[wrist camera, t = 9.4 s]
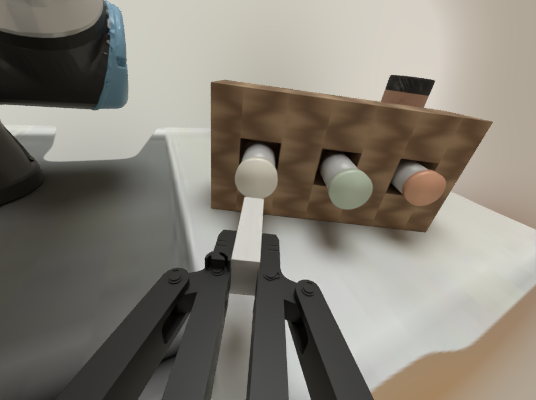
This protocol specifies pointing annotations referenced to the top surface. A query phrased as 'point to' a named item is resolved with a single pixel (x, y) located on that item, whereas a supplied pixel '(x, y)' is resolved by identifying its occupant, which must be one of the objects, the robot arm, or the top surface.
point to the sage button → (345, 181)
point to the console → (335, 150)
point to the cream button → (257, 172)
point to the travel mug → (407, 91)
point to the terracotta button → (418, 183)
